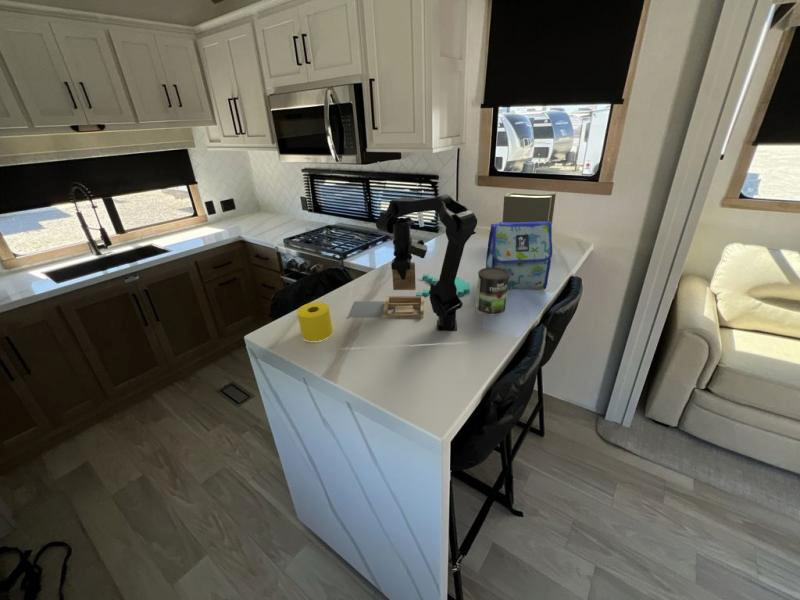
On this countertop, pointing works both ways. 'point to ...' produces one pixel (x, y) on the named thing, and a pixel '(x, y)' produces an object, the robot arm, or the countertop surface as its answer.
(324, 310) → the yellow paper roll
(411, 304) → the rack
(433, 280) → the alien figure
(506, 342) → the countertop surface
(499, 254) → the lunch bag
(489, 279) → the coffee can
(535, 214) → the book
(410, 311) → the offcut upper
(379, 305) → the mat
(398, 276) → the wooden block
